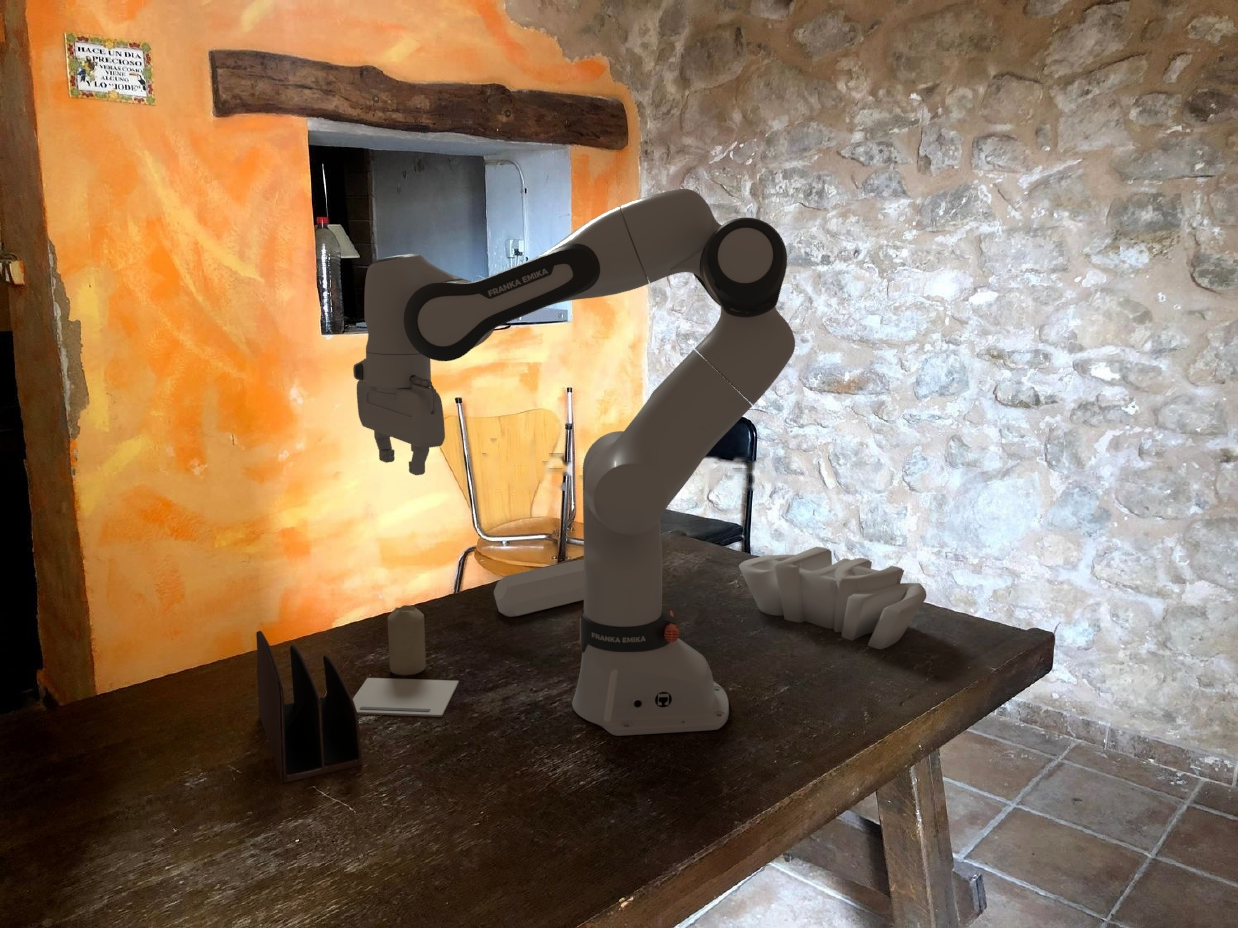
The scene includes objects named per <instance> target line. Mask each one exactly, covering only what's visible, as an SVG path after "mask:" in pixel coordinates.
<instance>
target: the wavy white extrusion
mask: <svg viewBox="0 0 1238 928" xmlns="http://www.w3.org/2000/svg"><path fill="white" fill-rule="evenodd" d="M832 557H833V556H832V551H831V549H829V548H826V547H822V546H814V547H811V548H809V549H807V550H804V551H801V552H799V553H796V554H775V555H765V556H759V557H754V558H750V559H747V560H744V561H742V562H741V563H739V565H738V567H739V570H740V572H741V574H742V576H743V578H744V580H745V583H746V584H747V587H748V589H749V591H750V592H751V596H752V597H753V599H754V601H755V603H756V604H755V605H756V606H757V608H758V610H759V611H760V612H762V613H764V614H767V615H771V616H783V617H784V620H786V621H788V622H793V623H803V622H806V623H807V622H808V623H810V624H813V625H815V626H818V627H821V628H825V629H829V630H833V631H834V632H835V633H841V636H840V637H841V638H843V639H845V640H849V641H854V640H856V639H858V638H860V637H862V636H864V635H868V634H871V633H872V635H871V637H870V639H869V641H868V644H867V646H868V647H870V648H873V649H878V650H884V649H886V648H889V647H890V646H893V645H894V644H896V643H897V642H899V640H901V639H902V637H903V635H904V634H905V632H906V631H907V629H908V627H909V625H910V624H911V623H912V621H913V620H914V618H915V616H916V615H917V613H918V612H919V610H920V608H921V607H922V606H923V604H924V602H925V601H926V599H927V591H926V588H925V587H924V586H923V585H922V584H921V583H920V582H902V578H903V576H904V573H905V570H904V569H903V568H902V567H899V566H895V565H890V566H888V567H886V568H884V569H880V570H878V569H872V565H873V562H872V561H871V560H870V559H867V558H863V557H857V558H854V559H851V558H850V559H849V558H846V557H843V558H842V559H840V560H838V561H837V562H835V563H833V562H832V561H833V558H832ZM901 582H902V583H901Z"/></svg>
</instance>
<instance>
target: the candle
mask: <svg viewBox="0 0 1238 928" xmlns="http://www.w3.org/2000/svg"><path fill="white" fill-rule="evenodd" d="M425 633H426V632H425V615H424V614H423V613H422V612H421V610H419V609H417V607H415V606H414V605H412V604H411V605H410V604H409V605H408V604H407V605H401V606H400V607H395V608H394V609H393V610H392V612H391V613H390V614H389V615H388V616H387V635H388V659H389V670H390V672H391V673H393V674H394V675H397V676H411V675H416V674H419V673H422V672H423V671H425V669H426V666H427V664H426V663H427V661H426V660H427V659H426V635H425Z"/></svg>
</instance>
